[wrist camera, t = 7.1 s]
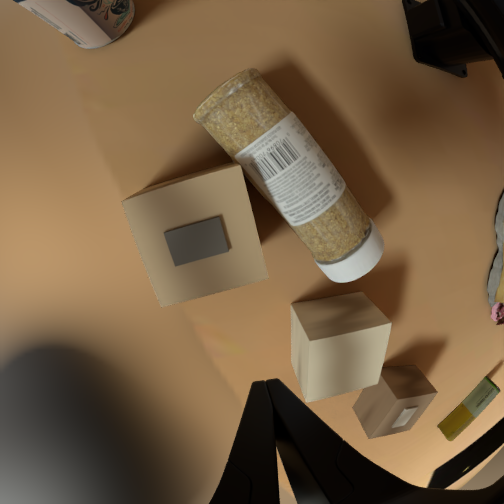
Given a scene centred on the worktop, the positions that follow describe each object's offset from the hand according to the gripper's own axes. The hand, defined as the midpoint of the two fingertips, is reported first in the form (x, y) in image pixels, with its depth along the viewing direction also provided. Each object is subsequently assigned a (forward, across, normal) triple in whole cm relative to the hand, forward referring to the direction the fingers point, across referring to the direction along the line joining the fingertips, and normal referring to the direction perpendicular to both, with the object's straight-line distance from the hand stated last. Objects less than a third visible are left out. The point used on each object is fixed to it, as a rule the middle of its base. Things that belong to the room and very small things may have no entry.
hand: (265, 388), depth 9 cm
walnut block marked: (+12, -15, +17) cm, 26 cm away
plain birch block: (+12, -7, +7) cm, 16 cm away
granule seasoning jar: (+10, 0, -11) cm, 15 cm away
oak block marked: (+12, +2, -3) cm, 13 cm away
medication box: (+12, -35, +30) cm, 48 cm away
